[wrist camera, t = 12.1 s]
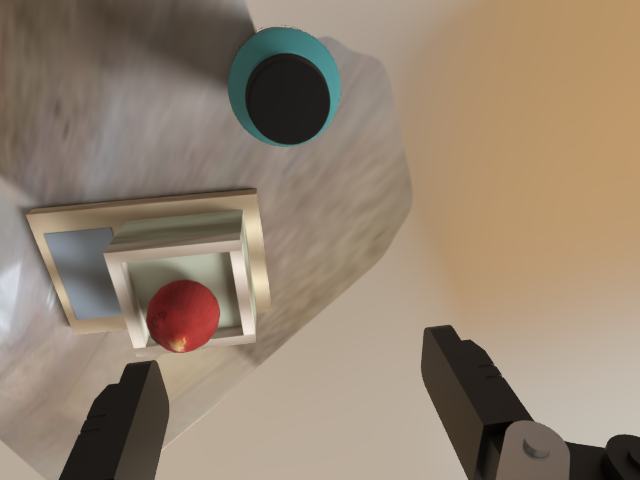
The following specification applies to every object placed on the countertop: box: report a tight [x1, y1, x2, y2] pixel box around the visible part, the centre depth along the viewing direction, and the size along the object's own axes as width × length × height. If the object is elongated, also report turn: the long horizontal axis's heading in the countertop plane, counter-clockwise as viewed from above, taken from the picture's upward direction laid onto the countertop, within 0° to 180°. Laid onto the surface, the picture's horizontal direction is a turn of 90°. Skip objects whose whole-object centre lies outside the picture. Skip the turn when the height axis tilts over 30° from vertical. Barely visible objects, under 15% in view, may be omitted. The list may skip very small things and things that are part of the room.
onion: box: [146, 279, 220, 353], centre depth 35 cm, size 6×6×8 cm
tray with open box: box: [26, 189, 271, 357], centre depth 40 cm, size 14×21×8 cm, turn 93°
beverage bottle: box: [228, 27, 341, 147], centre depth 28 cm, size 6×7×20 cm
